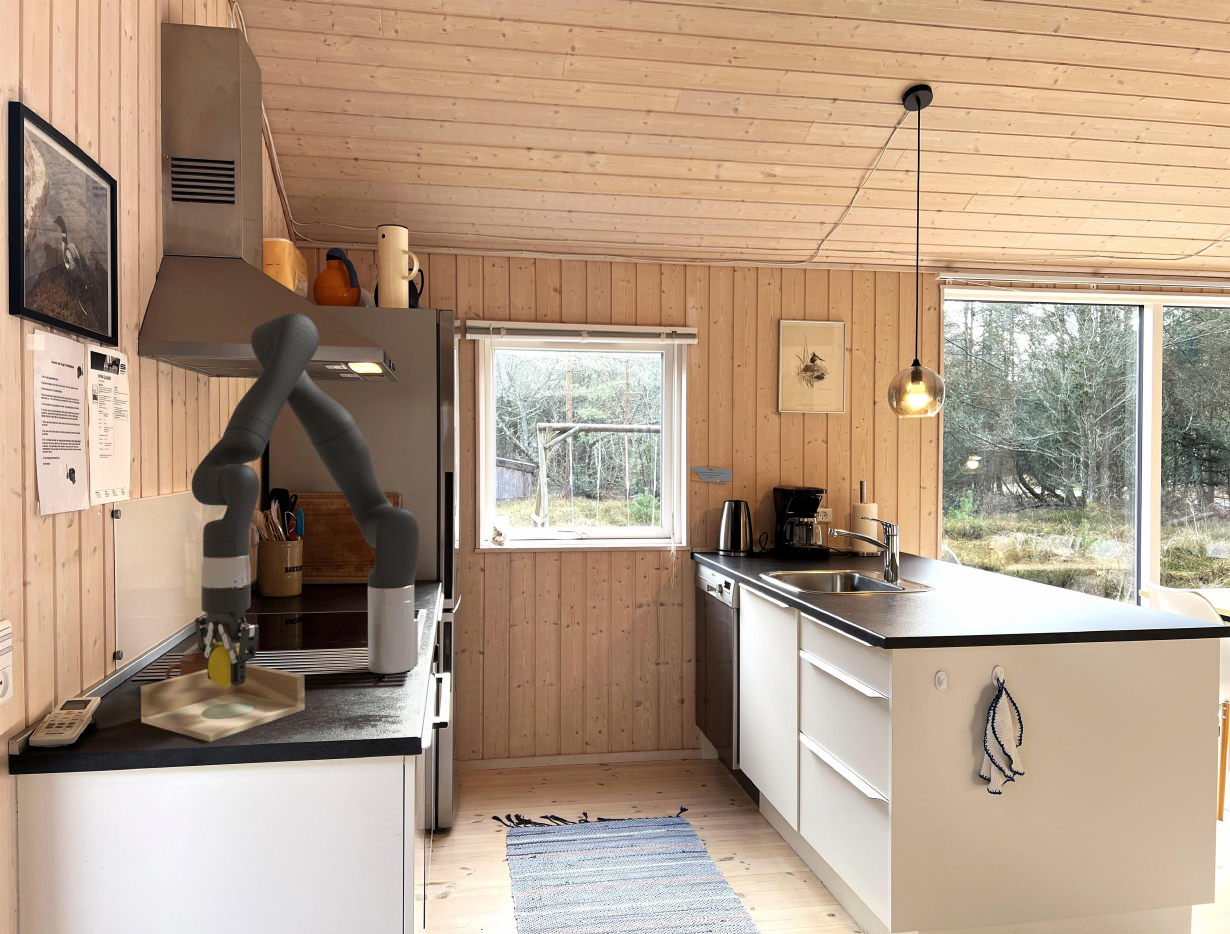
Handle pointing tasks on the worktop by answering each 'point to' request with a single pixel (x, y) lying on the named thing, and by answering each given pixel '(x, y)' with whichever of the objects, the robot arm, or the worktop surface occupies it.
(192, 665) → the cup and saucer
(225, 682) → the lemon
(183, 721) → the tray
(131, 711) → the worktop surface
